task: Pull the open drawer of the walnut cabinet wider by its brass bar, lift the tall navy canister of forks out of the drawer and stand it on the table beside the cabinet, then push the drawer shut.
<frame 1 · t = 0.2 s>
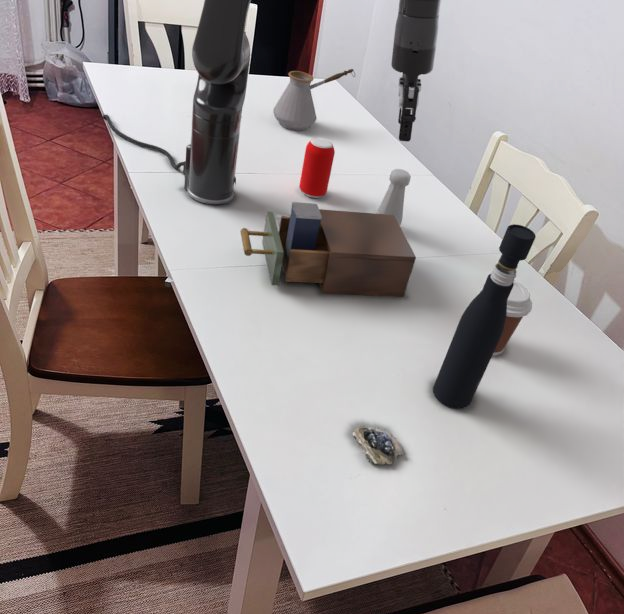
hand: (404, 131, 126), 22 cm above the table, tool pointing down, fingers open, 8 cm apart
drawer: (295, 248, 119), point 4 cm above the table, slide at 8.0 cm, touching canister
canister: (297, 259, 121), point 2 cm above the table, touching drawer
cabinet: (354, 272, 126), on the table
beverage can: (312, 194, 147), on the table
mineral rock: (374, 446, 93), on the table
salt shaker: (386, 228, 142), on the table
coffee pot: (309, 125, 177), on the table
coffee cup: (485, 344, 117), on the table
black bottle: (451, 395, 105), on the table
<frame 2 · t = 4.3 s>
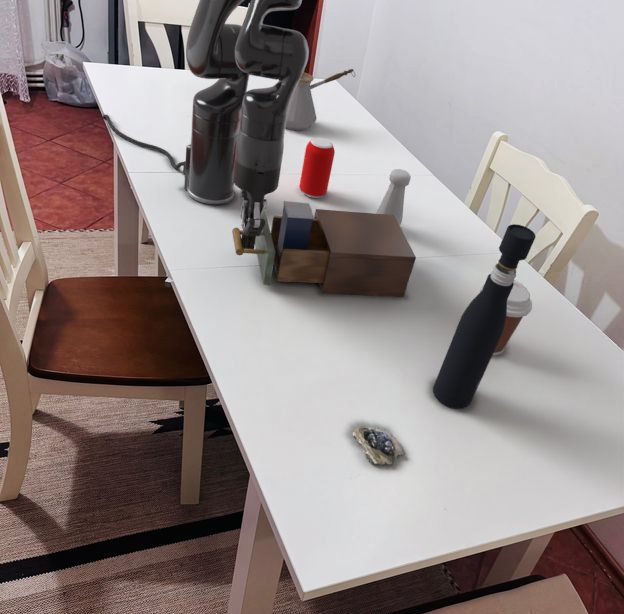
hand: (247, 248, 117), 4 cm above the table, tool pointing down, fingers closed
drawer: (287, 248, 119), point 4 cm above the table, slide at 9.5 cm, touching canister, gripper
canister: (289, 259, 121), point 2 cm above the table, touching drawer
everything else where it was.
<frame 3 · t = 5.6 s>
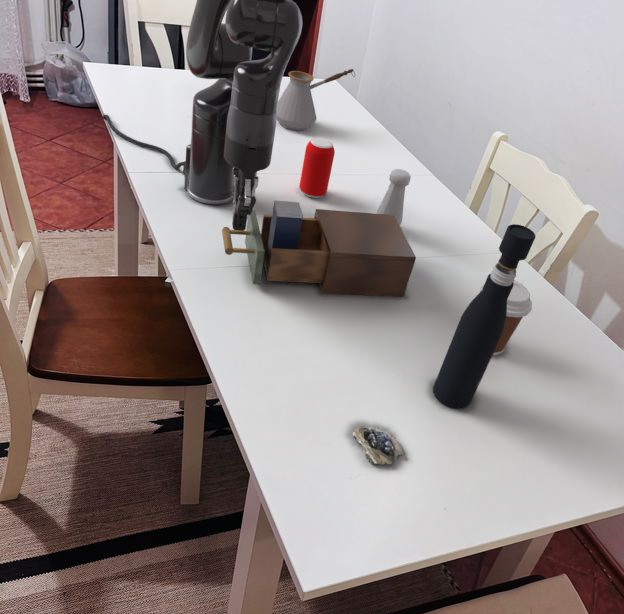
hand: (238, 228, 114), 8 cm above the table, tool pointing down, fingers closed
drawer: (277, 247, 118), point 4 cm above the table, slide at 11.3 cm, touching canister
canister: (280, 258, 120), point 2 cm above the table, touching drawer
everything else where it was.
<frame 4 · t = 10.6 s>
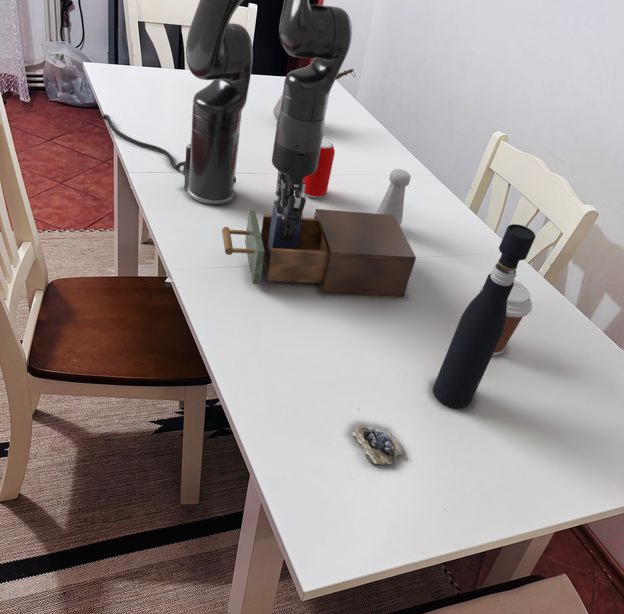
hand: (283, 231, 116), 8 cm above the table, tool pointing down, fingers closed on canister, 4 cm apart
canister: (280, 258, 120), point 2 cm above the table, touching drawer, gripper
everything else where it was.
when the fingers open (6 cm above the table, at t = 19.6 s): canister stays where it is, on the table.
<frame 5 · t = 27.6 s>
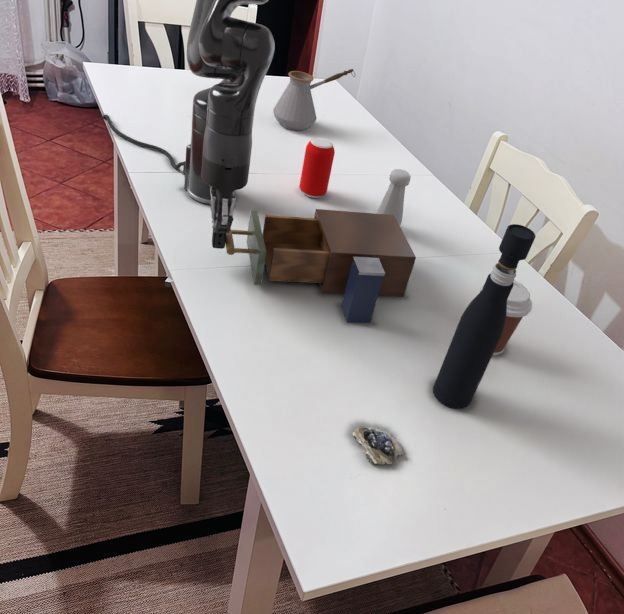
hand: (218, 246, 115), 4 cm above the table, tool pointing down, fingers closed
drawer: (279, 247, 118), point 4 cm above the table, slide at 11.0 cm, touching gripper
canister: (355, 314, 115), on the table
everything else where it was.
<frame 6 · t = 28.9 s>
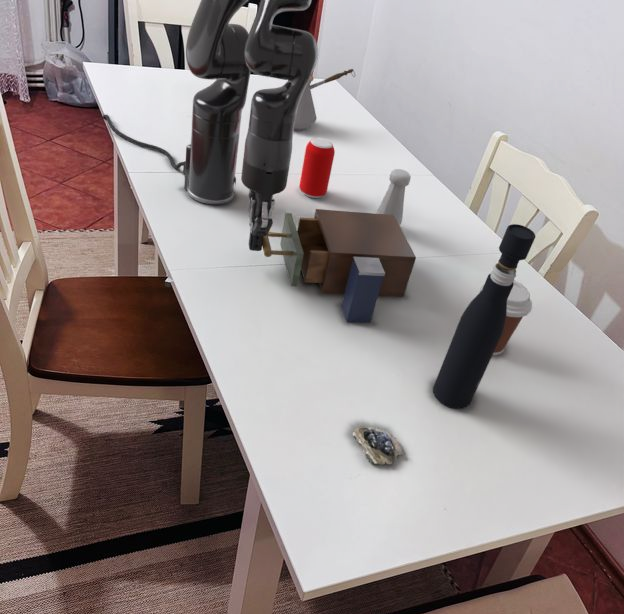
hand: (254, 248, 117), 4 cm above the table, tool pointing down, fingers closed
drawer: (314, 250, 120), point 4 cm above the table, slide at 4.5 cm, touching gripper
everything else where it was.
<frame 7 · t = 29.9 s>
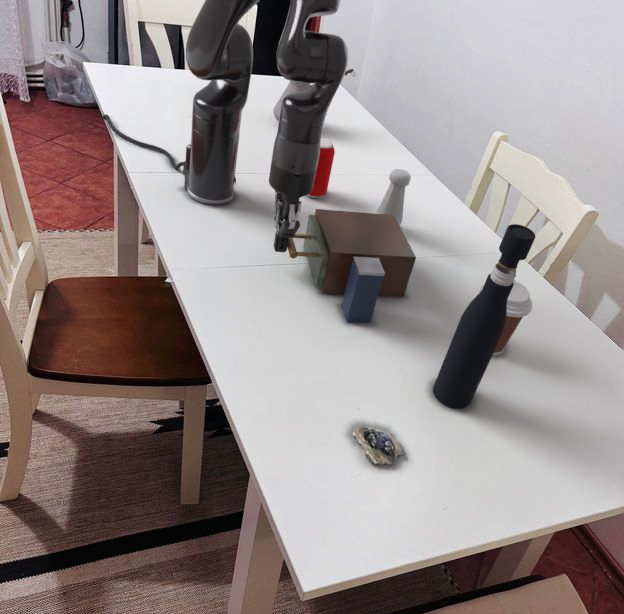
hand: (279, 249, 119), 4 cm above the table, tool pointing down, fingers closed
drawer: (337, 251, 122), point 4 cm above the table, slide at 0.0 cm, touching cabinet, gripper
everything else where it was.
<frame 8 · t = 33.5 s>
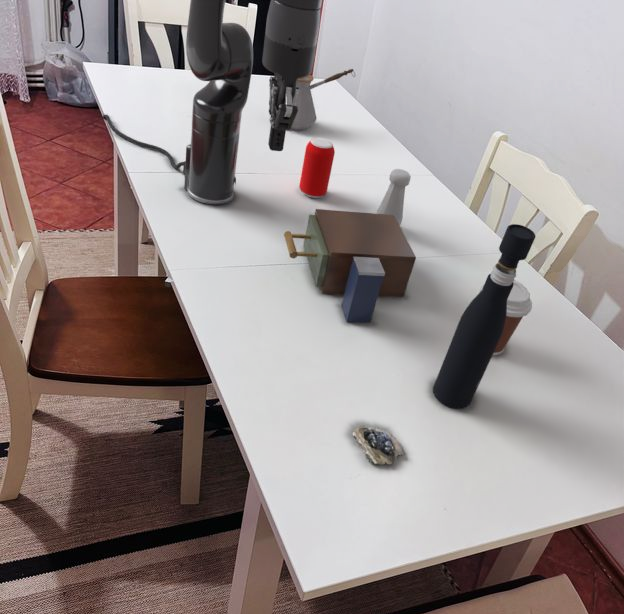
hand: (275, 148, 106), 23 cm above the table, tool pointing down, fingers closed
drawer: (337, 251, 122), point 4 cm above the table, slide at 0.0 cm, touching cabinet
everything else where it was.
at the end: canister inside the target area (0.3 cm from its centre), on the table; drawer slide at 0.0 cm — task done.
